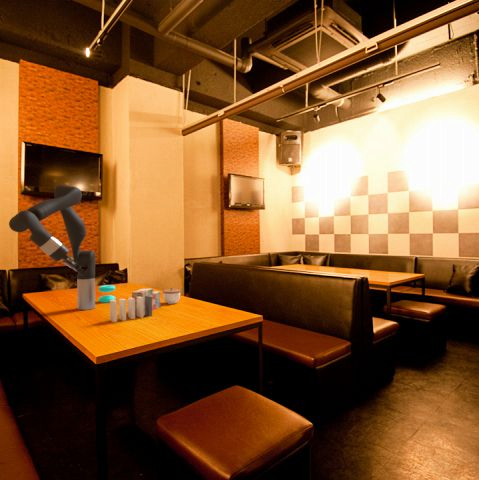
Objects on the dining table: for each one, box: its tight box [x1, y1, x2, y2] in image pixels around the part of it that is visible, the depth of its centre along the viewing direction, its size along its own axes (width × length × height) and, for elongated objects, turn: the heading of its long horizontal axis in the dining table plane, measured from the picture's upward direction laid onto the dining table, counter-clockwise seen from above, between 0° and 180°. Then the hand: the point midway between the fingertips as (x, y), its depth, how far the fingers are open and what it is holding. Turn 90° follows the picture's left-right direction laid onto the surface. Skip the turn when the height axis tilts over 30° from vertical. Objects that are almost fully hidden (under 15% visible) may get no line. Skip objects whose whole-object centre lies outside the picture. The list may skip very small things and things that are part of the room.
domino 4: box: [136, 296, 145, 318], centre depth 169 cm, size 5×2×10 cm, turn 39°
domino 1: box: [109, 299, 118, 323], centre depth 160 cm, size 5×2×10 cm, turn 39°
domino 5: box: [144, 295, 153, 317], centre depth 172 cm, size 5×2×10 cm, turn 39°
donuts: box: [98, 284, 116, 304], centre depth 211 cm, size 10×10×10 cm
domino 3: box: [127, 297, 136, 320], centre depth 166 cm, size 5×2×10 cm, turn 39°
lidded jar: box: [162, 287, 181, 305], centre depth 205 cm, size 11×11×9 cm
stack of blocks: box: [131, 288, 161, 316], centre depth 183 cm, size 21×6×12 cm, turn 168°
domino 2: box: [118, 298, 127, 322], centre depth 163 cm, size 5×2×10 cm, turn 39°
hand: (84, 274), depth 152 cm, fingers closed
